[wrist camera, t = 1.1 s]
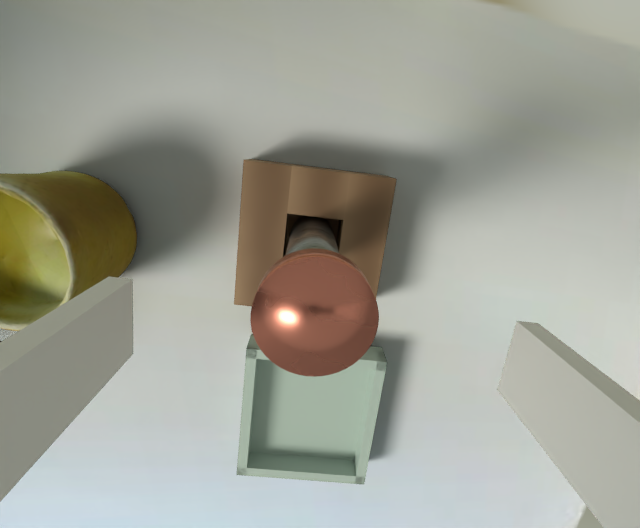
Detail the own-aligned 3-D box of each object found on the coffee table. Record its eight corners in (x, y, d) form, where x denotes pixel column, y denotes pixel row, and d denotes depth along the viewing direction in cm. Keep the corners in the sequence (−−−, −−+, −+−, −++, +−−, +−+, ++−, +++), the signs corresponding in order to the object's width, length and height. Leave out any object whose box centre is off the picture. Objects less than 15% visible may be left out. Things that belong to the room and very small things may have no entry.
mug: (147, 153, 26) (24, 217, 18) (165, 275, 32) (77, 366, 24) (-12, 123, 28) (-194, 170, 19) (32, 246, 33) (-94, 322, 25)
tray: (241, 453, 35) (236, 474, 33) (251, 334, 32) (246, 348, 30) (360, 463, 36) (363, 484, 34) (381, 347, 33) (387, 362, 30)
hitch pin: (277, 261, 30) (246, 370, 15) (283, 199, 29) (255, 251, 14) (338, 268, 30) (368, 381, 15) (347, 207, 29) (388, 266, 14)
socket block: (242, 287, 31) (234, 304, 28) (251, 159, 28) (243, 159, 25) (365, 300, 32) (372, 318, 28) (386, 175, 29) (396, 179, 26)
